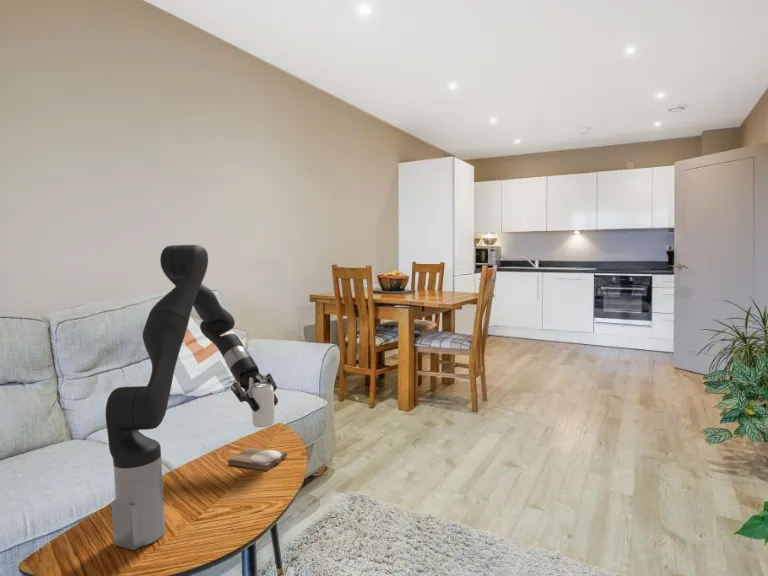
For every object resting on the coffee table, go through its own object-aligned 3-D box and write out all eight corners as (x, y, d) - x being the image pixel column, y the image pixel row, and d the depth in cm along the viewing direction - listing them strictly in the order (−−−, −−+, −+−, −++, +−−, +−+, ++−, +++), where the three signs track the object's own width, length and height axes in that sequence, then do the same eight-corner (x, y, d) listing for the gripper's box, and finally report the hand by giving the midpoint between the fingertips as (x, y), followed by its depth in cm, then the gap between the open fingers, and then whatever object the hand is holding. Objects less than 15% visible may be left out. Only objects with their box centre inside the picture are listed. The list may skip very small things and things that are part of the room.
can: (265, 428, 136) (263, 387, 135) (248, 425, 139) (246, 386, 138) (279, 421, 142) (277, 382, 141) (262, 419, 144) (260, 380, 144)
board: (268, 470, 134) (268, 464, 134) (228, 464, 140) (228, 458, 140) (288, 457, 144) (287, 451, 144) (249, 451, 149) (249, 446, 149)
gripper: (225, 360, 138) (252, 405, 132) (264, 352, 150) (291, 393, 143) (215, 375, 142) (241, 421, 135) (254, 366, 153) (280, 408, 146)
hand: (266, 406), depth 139 cm, fingers closed on can, 6 cm apart
